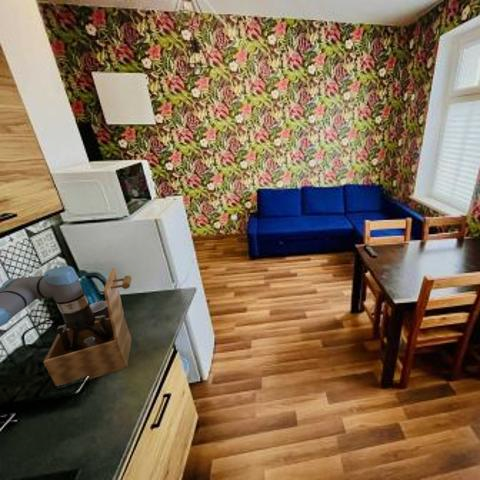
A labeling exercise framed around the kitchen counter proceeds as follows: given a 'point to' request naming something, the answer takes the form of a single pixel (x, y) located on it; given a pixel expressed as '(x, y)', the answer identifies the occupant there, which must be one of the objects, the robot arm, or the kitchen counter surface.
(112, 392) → the kitchen counter surface
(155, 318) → the kitchen counter surface
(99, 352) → the chest
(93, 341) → the flask
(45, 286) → the robot arm
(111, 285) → the knobbed wooden cover
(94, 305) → the coffee mug
